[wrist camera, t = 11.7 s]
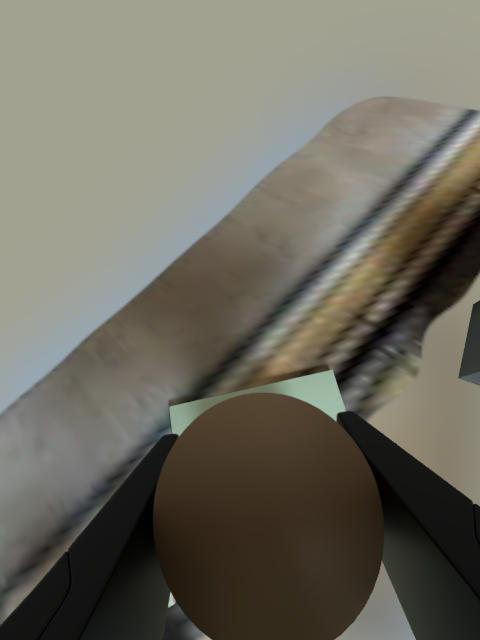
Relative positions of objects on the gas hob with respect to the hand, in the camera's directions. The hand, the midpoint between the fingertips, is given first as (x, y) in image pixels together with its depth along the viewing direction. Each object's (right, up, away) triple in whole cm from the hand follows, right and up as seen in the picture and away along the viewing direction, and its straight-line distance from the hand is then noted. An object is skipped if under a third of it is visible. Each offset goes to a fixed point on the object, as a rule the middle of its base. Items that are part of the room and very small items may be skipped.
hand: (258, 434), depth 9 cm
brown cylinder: (+1, -4, +6) cm, 7 cm away
